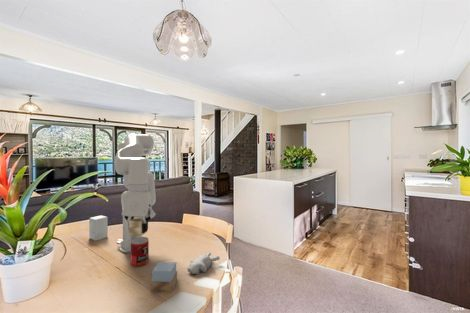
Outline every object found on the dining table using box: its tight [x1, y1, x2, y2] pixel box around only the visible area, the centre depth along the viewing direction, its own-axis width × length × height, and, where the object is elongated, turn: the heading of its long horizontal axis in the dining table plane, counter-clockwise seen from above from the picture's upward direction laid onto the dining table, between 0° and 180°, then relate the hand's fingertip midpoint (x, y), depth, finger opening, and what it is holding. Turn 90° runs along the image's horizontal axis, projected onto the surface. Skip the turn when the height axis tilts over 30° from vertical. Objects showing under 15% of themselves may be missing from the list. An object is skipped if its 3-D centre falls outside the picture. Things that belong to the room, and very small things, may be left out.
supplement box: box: [89, 214, 109, 242], centre depth 138 cm, size 7×7×13 cm
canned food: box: [130, 236, 150, 268], centre depth 107 cm, size 8×8×11 cm
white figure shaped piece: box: [187, 252, 221, 275], centre depth 103 cm, size 10×5×15 cm
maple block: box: [129, 217, 148, 237], centre depth 94 cm, size 5×5×6 cm
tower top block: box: [151, 261, 177, 282], centre depth 88 cm, size 7×7×4 cm
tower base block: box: [150, 270, 178, 293], centre depth 88 cm, size 8×8×4 cm
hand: (138, 231), depth 94 cm, fingers closed on maple block, 5 cm apart
